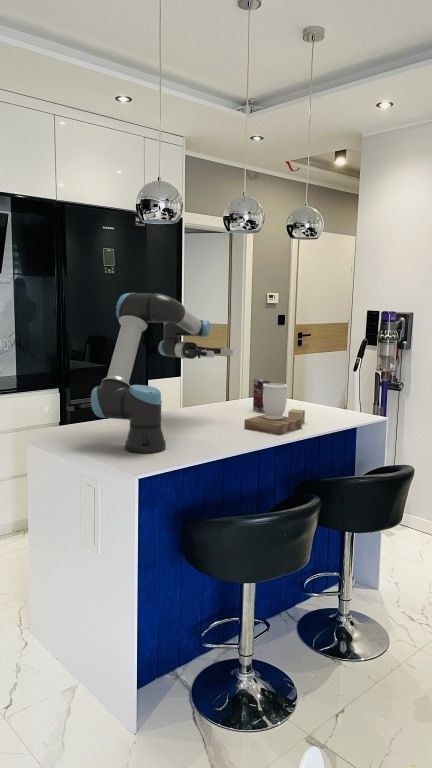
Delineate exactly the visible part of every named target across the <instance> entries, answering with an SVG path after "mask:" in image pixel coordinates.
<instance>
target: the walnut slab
mask: <svg viewBox="0 0 432 768" xmlns="http://www.w3.org/2000/svg"><path fill="white" fill-rule="evenodd" d="M265 415H266V413H264V414H261V415H257V416H254V417H249V418H245V419H244V426H243V427H244V429H246V430H250V431H255V432H256V431H257V432H260V433H261V432H262V433H265V434H271V433H272V434H271V435H276V434H277V435H278V436H280V435H283V434H287V433H290V432H289V431H291V432H293V430H294V431H297V430H300V429H302V428H303V427H302V426H303V424H302V419H297V418H291V417H288V416H284V415H283V416H284V418H283V419H279V420H271V419H266V418H265ZM296 429H297V430H296ZM286 432H287V433H286Z"/></svg>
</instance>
